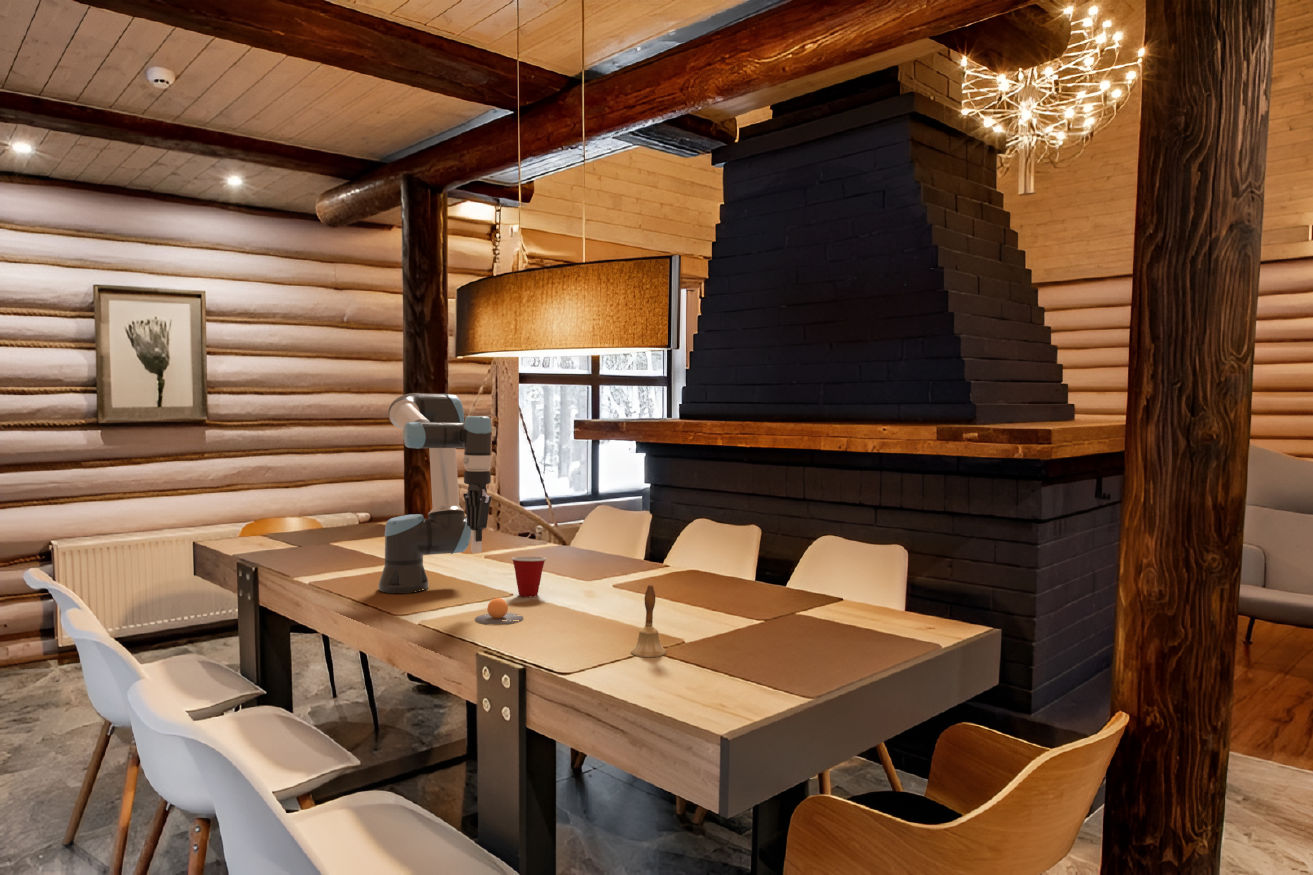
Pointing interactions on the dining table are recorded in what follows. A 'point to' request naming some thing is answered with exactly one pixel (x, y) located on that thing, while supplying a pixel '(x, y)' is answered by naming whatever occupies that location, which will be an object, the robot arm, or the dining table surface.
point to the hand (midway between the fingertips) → (476, 552)
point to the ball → (497, 608)
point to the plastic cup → (528, 574)
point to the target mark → (490, 620)
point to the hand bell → (648, 631)
